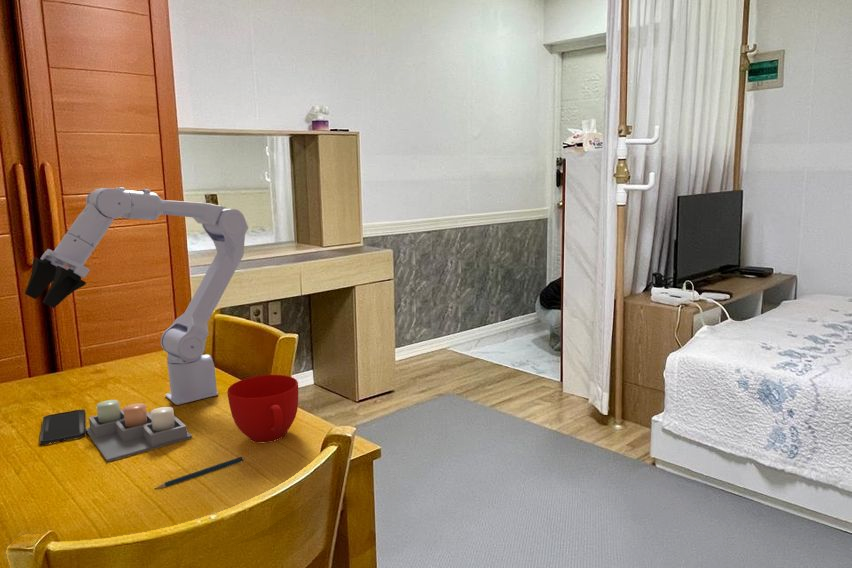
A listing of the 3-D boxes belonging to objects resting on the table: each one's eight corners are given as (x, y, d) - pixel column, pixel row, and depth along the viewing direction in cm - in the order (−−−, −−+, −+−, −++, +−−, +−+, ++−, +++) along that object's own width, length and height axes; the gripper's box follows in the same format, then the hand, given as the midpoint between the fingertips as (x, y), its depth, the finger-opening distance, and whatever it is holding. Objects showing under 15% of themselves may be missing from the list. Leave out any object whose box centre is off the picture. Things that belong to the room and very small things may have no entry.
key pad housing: (163, 410, 139) (161, 399, 139) (192, 438, 125) (190, 425, 125) (85, 430, 130) (83, 418, 130) (107, 462, 116) (105, 448, 116)
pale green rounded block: (118, 413, 133) (116, 398, 132) (123, 419, 129) (121, 403, 129) (96, 419, 130) (94, 403, 130) (101, 425, 127) (99, 408, 126)
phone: (85, 408, 141) (85, 433, 127) (85, 413, 141) (85, 438, 128) (42, 416, 137) (38, 442, 124) (43, 421, 137) (39, 447, 124)
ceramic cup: (245, 465, 113) (240, 410, 111) (226, 431, 128) (221, 382, 126) (317, 448, 119) (313, 395, 117) (291, 417, 134) (287, 370, 132)
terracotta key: (144, 417, 130) (142, 401, 129) (150, 423, 127) (148, 407, 126) (122, 422, 128) (120, 406, 127) (128, 429, 125) (126, 412, 124)
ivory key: (171, 421, 128) (169, 405, 127) (177, 427, 125) (176, 411, 124) (150, 426, 125) (148, 410, 125) (156, 433, 122) (154, 416, 122)
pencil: (243, 462, 115) (155, 492, 105) (240, 460, 116) (153, 490, 106) (242, 458, 115) (154, 487, 105) (240, 456, 115) (152, 485, 106)
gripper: (45, 223, 129) (3, 282, 125) (81, 236, 121) (37, 299, 117) (75, 242, 135) (35, 299, 131) (112, 255, 126) (71, 316, 122)
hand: (38, 300), depth 124 cm, fingers open, 7 cm apart
